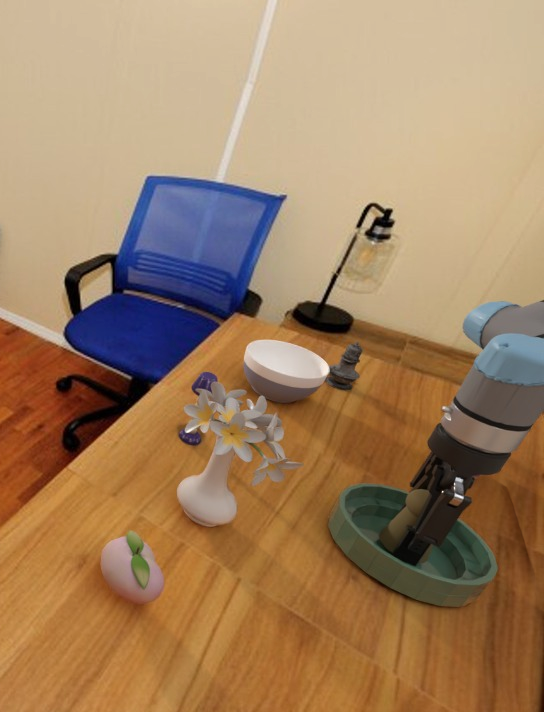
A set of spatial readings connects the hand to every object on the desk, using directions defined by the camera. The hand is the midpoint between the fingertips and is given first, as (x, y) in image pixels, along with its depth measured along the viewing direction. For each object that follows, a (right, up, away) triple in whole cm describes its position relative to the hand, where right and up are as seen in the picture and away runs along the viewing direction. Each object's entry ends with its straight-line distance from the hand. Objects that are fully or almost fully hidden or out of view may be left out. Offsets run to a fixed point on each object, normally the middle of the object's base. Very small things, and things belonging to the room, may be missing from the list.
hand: (402, 544), depth 82 cm
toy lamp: (-21, +10, +25) cm, 34 cm away
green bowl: (0, -2, +1) cm, 2 cm away
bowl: (+8, +18, +39) cm, 43 cm away
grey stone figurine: (+25, +19, +41) cm, 52 cm away
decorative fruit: (-47, -5, -4) cm, 47 cm away
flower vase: (-27, +1, +8) cm, 28 cm away
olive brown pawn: (0, 0, 0) cm, 0 cm away
